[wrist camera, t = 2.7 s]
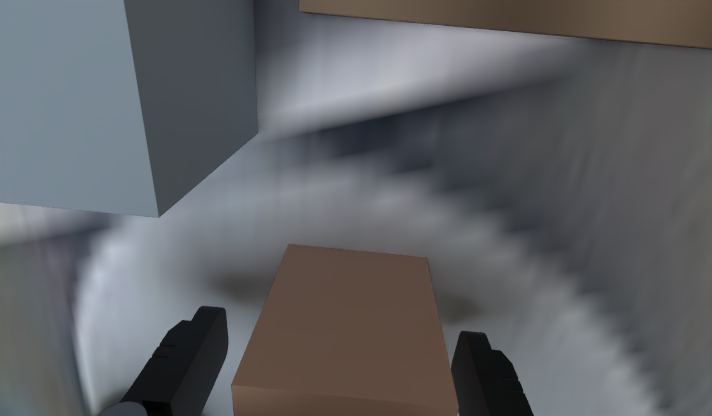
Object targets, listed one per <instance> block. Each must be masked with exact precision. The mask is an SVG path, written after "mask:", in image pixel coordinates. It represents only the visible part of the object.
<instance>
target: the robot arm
mask: <svg viewBox="0 0 712 416" xmlns="http://www.w3.org/2000/svg"><path fill="white" fill-rule="evenodd" d="M227 351H228V330H227V319H226V310H225V308H220V307H209V306H201V307H200V308H199V309H198V311H197V312H196V314H195V316H194V317H193V319H192V320H191V321H186V320H182V321H181V322H179V323H178V324H177V325H176V326H174V327H173V328H172V329H170V330H169V331H168V333H167V334H166V335H165V337H164V338H163V340H162V341H161V343H160V346H159V347H157V349H156V350H155V352H154V353H153V355H152V358H150V359H149V361H148V362H147V364H146V365H145V367H144V368H143V370H142V371H141V373H140V374H139V376H138V377H137V378H136V380H135V381H134V383H133V384H132V386H131V387H130V389H129V390H128V392H127V393H126V395H125V396H124V398H123V399H122V400H121V402H120V403H118V404H115V405H112V406H110V407H108V408H107V409H105V410H103V411H102V412H100V413H99V414H98V415H97V416H200V415H201V413H202V410H203V408H204V406H205V404H206V401H207V399H208V397H209V395H210V392H211V390H212V388H213V386H214V383H215V381H216V379H217V377H218V374H219V372H220V370H221V368H222V365H223V363H224V361H225V358H226V355H227ZM451 373H452V377H453V382H454V387H455V391H456V396H457V400H458V405H459V410H458V412H459V416H534V415H533V413H532V410H531V408H530V405H529V403H528V401H527V398H526V396H525V394H524V393H523V389H522V386H521V384H520V381H518V377H517V374H516V372H515V369H514V367H513V365H512V363H511V362H510V361H509V360H508V358H507V357H506V356H505V355H504V354H503V353H502V352H501V351H500V350H492V349H491V346H490V344H489V341H488V338H487V336H486V334H485V333H481V332H470V331H461V332H460V335H459V338H458V342H457V346H456V349H455V353H454V357H453V360H452V365H451Z"/></svg>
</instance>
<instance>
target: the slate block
mask: <svg viewBox="0 0 712 416" xmlns="http://www.w3.org/2000/svg"><path fill="white" fill-rule="evenodd" d="M257 133H258V126H257V95H256V64H255V33H254V2H253V0H0V202H1V203H11V204H21V205H32V206H42V207H53V208H63V209H73V210H84V211H94V212H105V213H115V214H125V215H136V216H146V217H157V218H159V217H160V216H161V215H163V214H164V213H165V212H166V211H167V210H169V209H170V208H171V207H172V206H173V205H174V204H176V203H177V202H178V201H179V200H180V199H181V198H183V197H184V196H185V195H186V194H187V193H188V192H190V191H191V190H192V189H193V188H194V187H195V186H197V185H198V184H199V183H200V182H201V181H202V180H204V179H205V178H206V177H207V176H208V175H209V174H211V173H212V172H213V171H214V170H215V169H216V168H218V167H219V166H220V165H221V164H222V163H224V162H225V161H226V160H227V159H228V158H229V157H231V156H232V155H233V154H234V153H235V152H236V151H238V150H239V149H240V148H241V147H242V146H243V145H245V144H246V143H247V142H248V141H249V140H250V139H252V138H253V137H254V136H255V135H256V134H257Z"/></svg>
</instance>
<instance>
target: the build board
mask: <svg viewBox="0 0 712 416" xmlns="http://www.w3.org/2000/svg"><path fill="white" fill-rule="evenodd" d="M299 11H300V12H304V13H310V14H321V15H332V16H344V17H355V18H366V19H377V20H388V21H400V22H411V23H422V24H433V25H444V26H455V27H467V28H478V29H489V30H500V31H511V32H523V33H534V34H545V35H556V36H567V37H579V38H590V39H601V40H612V41H623V42H634V43H646V44H657V45H668V46H679V47H690V48H702V49H712V0H299Z"/></svg>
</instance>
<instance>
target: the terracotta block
mask: <svg viewBox="0 0 712 416" xmlns="http://www.w3.org/2000/svg"><path fill="white" fill-rule="evenodd" d="M231 389H232V400H233V411H234V416H457V413H458V410H459V405H458V400H457V396H456V391H455V387H454V382H453V377H452V373H451V368H450V364H449V359H448V355H447V350H446V345H445V341H444V336H443V332H442V327H441V323H440V318H439V313H438V309H437V304H436V300H435V295H434V291H433V286H432V281H431V277H430V272H429V268H428V263H427V259H426V258H425V257H414V256H404V255H394V254H384V253H373V252H363V251H353V250H343V249H332V248H322V247H312V246H301V245H291V244H289V245H288V248H287V250H286V252H285V255H284V257H283V260H282V262H281V265H280V267H279V270H278V272H277V274H276V277H275V279H274V282H273V284H272V287H271V289H270V291H269V294H268V296H267V299H266V301H265V304H264V306H263V309H262V311H261V313H260V316H259V318H258V321H257V323H256V326H255V328H254V331H253V333H252V335H251V338H250V340H249V343H248V345H247V348H246V350H245V352H244V355H243V357H242V360H241V362H240V365H239V367H238V370H237V372H236V374H235V377H234V379H233V382H232V384H231Z"/></svg>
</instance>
